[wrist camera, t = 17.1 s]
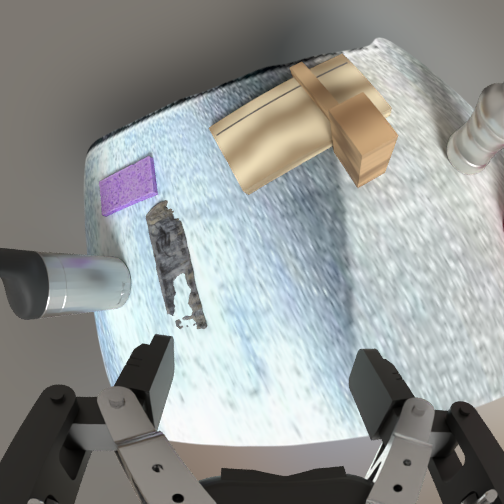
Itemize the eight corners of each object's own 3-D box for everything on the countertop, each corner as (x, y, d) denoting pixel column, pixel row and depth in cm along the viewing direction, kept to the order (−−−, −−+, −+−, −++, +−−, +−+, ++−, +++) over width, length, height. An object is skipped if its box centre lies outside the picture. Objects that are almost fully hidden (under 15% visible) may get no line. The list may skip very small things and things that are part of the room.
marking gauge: (384, 172, 36) (398, 135, 25) (357, 188, 37) (361, 155, 26) (314, 80, 40) (301, 30, 28) (290, 93, 41) (270, 45, 29)
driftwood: (147, 209, 48) (139, 207, 46) (180, 195, 46) (173, 192, 44) (174, 332, 45) (167, 335, 43) (211, 326, 43) (204, 328, 41)
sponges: (159, 195, 47) (153, 192, 45) (107, 217, 50) (100, 216, 49) (155, 158, 48) (149, 154, 46) (104, 183, 51) (98, 181, 50)
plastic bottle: (435, 142, 34) (483, 58, 15) (470, 133, 32) (526, 57, 13) (453, 183, 33) (522, 121, 14) (487, 173, 31) (560, 114, 12)
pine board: (390, 115, 36) (391, 107, 34) (248, 195, 42) (243, 191, 40) (343, 61, 38) (342, 53, 36) (214, 133, 44) (208, 127, 42)
